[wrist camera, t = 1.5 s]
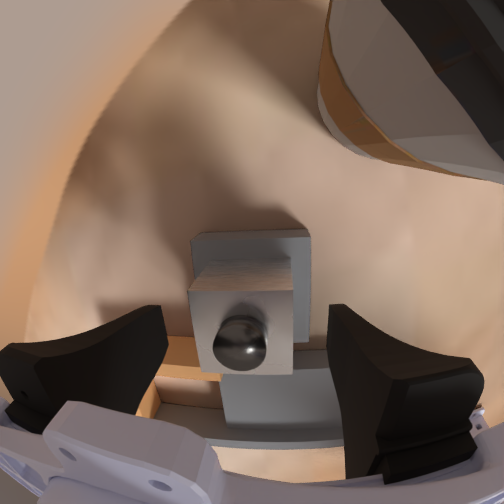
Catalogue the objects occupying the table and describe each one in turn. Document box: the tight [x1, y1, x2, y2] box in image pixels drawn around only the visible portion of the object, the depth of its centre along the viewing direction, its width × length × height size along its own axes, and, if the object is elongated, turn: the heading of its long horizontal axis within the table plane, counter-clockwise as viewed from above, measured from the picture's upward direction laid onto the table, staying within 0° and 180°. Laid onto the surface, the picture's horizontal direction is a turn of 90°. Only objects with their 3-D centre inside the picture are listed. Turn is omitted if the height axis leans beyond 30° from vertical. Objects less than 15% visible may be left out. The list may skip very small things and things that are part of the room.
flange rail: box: [136, 336, 344, 450], centre depth 18 cm, size 16×8×3 cm, turn 93°
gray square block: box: [190, 229, 311, 343], centre depth 16 cm, size 6×6×2 cm
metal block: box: [187, 257, 293, 375], centre depth 13 cm, size 4×4×5 cm
